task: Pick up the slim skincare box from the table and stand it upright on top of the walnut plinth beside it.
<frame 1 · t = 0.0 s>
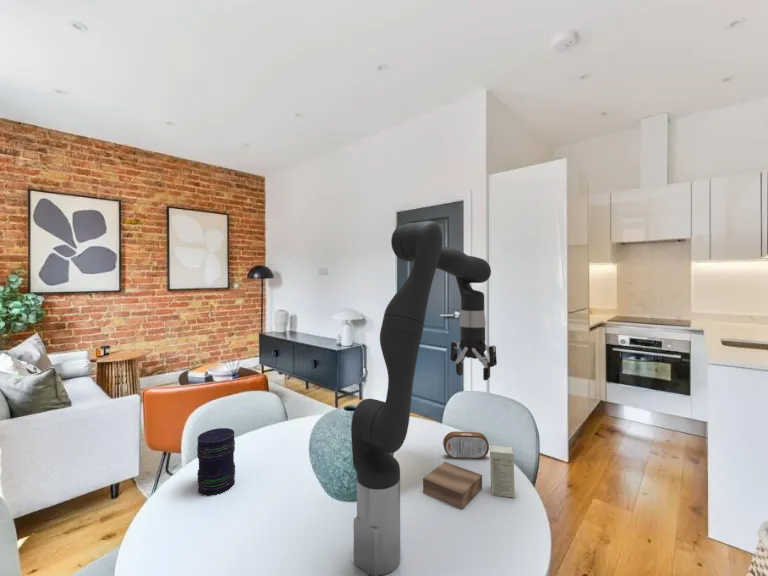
hand: (472, 377, 110), 29 cm above the table, tool pointing down, fingers open, 8 cm apart
skincare box: (502, 493, 100), on the table
tin: (466, 458, 120), on the table
walnut plinth: (452, 490, 101), on the table
dark blue cylinder: (216, 486, 104), on the table
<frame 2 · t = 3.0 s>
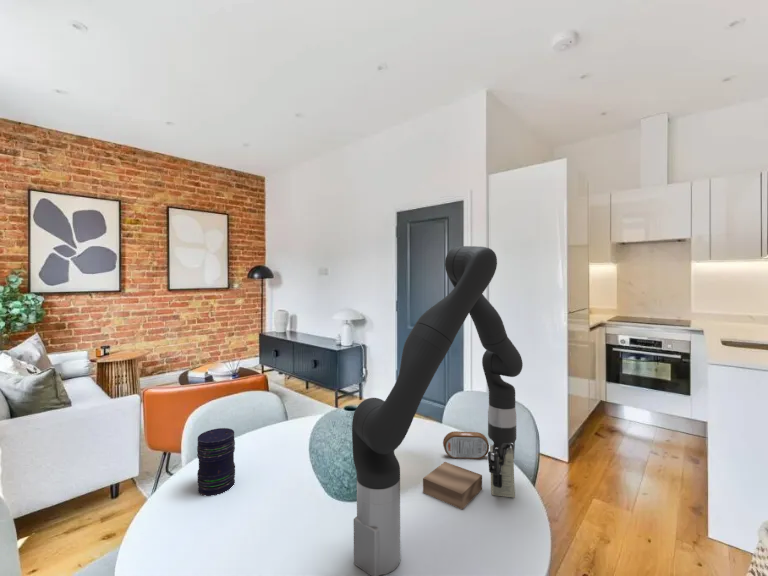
hand: (502, 481, 100), 3 cm above the table, tool pointing down, fingers closed on skincare box, 5 cm apart
skincare box: (502, 493, 100), on the table, touching gripper
everything else where it was.
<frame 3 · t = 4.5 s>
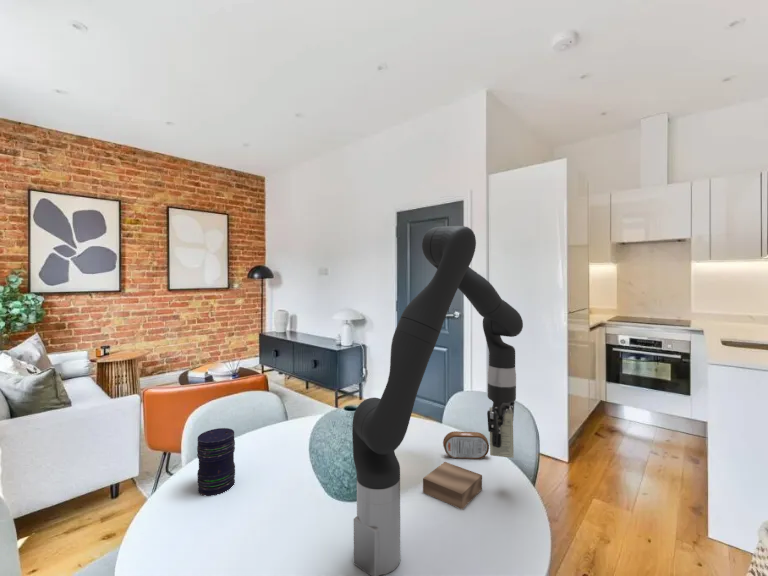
hand: (501, 442, 100), 14 cm above the table, tool pointing down, fingers closed on skincare box, 5 cm apart
skincare box: (500, 454, 100), point 11 cm above the table, touching gripper
everything else where it was.
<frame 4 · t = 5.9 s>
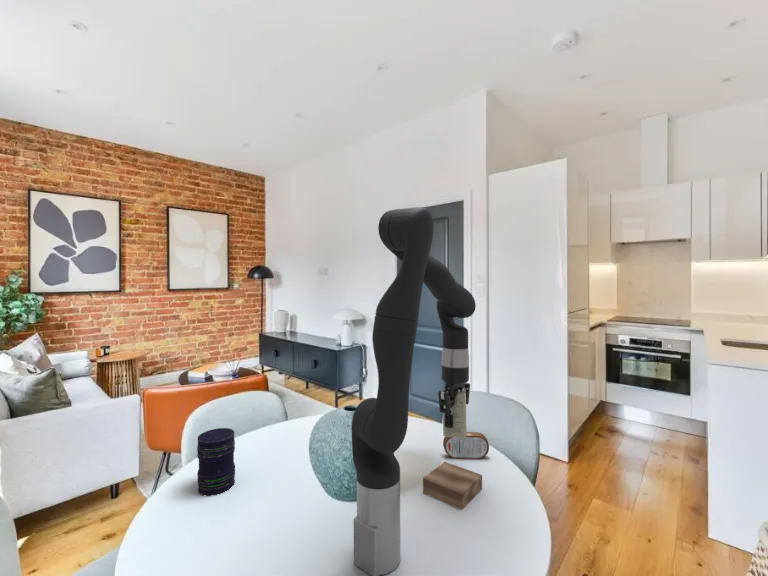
hand: (454, 423, 100), 19 cm above the table, tool pointing down, fingers closed on skincare box, 5 cm apart
skincare box: (454, 435, 100), point 16 cm above the table, touching gripper
everything else where it was.
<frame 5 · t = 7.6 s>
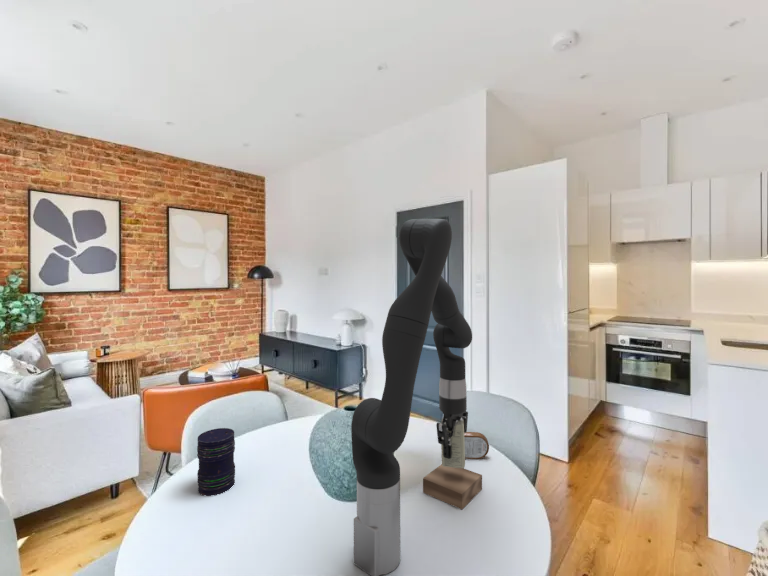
hand: (453, 453, 100), 11 cm above the table, tool pointing down, fingers closed on skincare box, 5 cm apart
skincare box: (453, 464, 100), point 7 cm above the table, touching gripper
everything else where it was.
when the fingers open (8 cm above the table, at t = 9.0 s): skincare box drops 1 cm, resting on walnut plinth.
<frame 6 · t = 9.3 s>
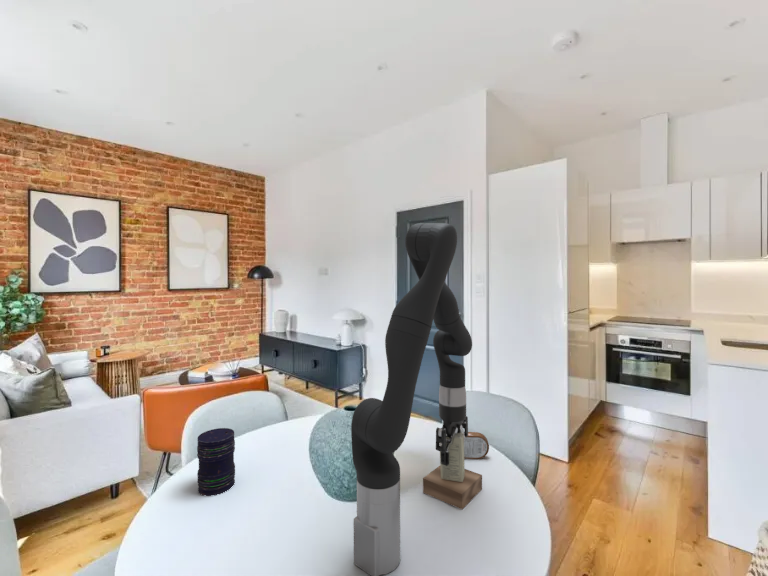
hand: (452, 458, 101), 9 cm above the table, tool pointing down, fingers open, 8 cm apart
skincare box: (452, 477, 100), point 4 cm above the table, touching walnut plinth
everything else where it was.
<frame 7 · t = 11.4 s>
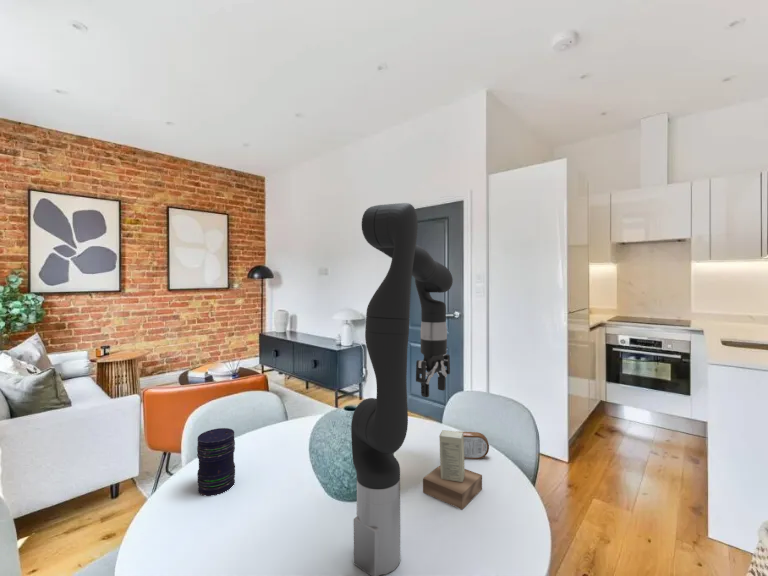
hand: (433, 393, 104), 27 cm above the table, tool pointing down, fingers open, 8 cm apart
nothing on the table moved.
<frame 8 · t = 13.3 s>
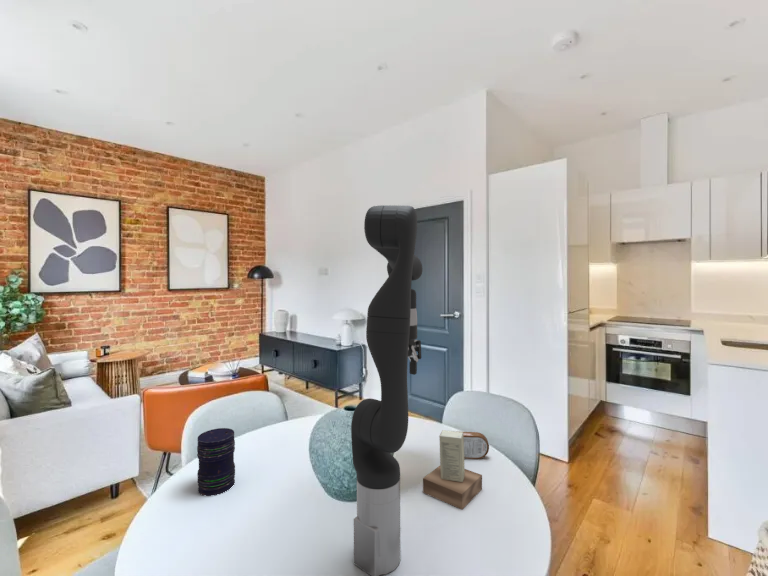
hand: (405, 376, 108), 30 cm above the table, tool pointing down, fingers open, 8 cm apart
nothing on the table moved.
at the end: skincare box inside the target area on the walnut plinth (0.2 cm from its centre), point 3.8 cm above the walnut plinth's base; skincare box tilted 0°; the gripper is holding nothing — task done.
